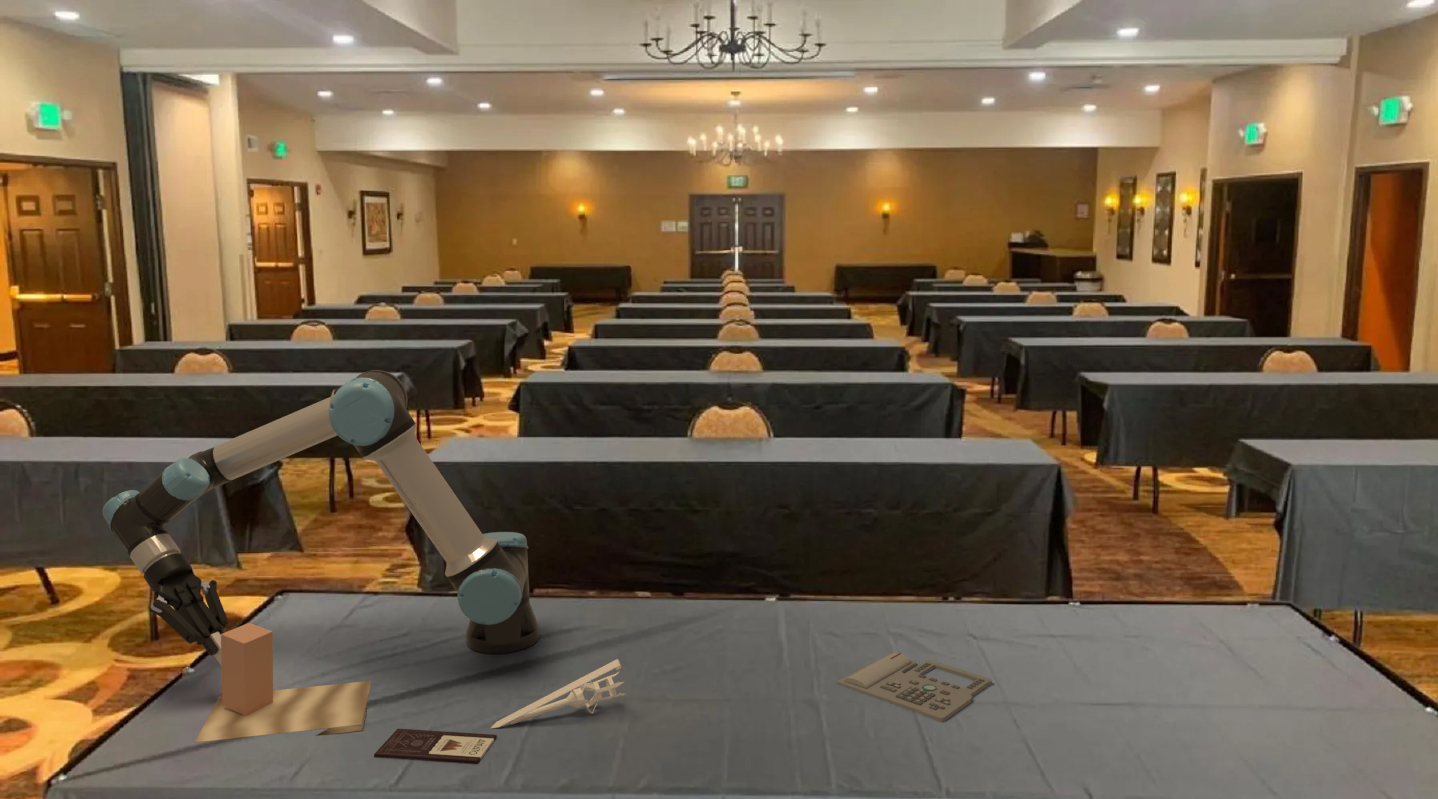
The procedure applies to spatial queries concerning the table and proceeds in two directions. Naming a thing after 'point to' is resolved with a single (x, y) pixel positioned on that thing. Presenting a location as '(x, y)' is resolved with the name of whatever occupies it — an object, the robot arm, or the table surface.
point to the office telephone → (915, 686)
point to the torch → (569, 696)
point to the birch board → (294, 713)
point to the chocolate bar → (436, 746)
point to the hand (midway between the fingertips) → (230, 665)
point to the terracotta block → (247, 668)
